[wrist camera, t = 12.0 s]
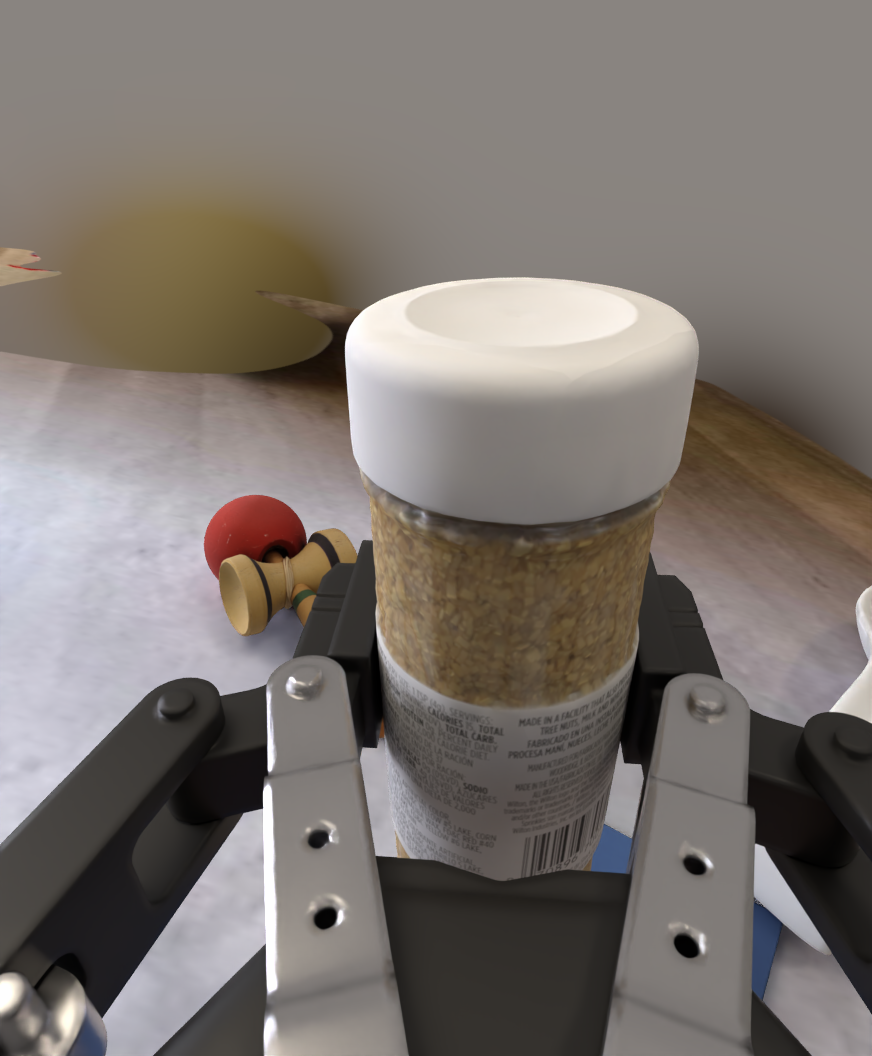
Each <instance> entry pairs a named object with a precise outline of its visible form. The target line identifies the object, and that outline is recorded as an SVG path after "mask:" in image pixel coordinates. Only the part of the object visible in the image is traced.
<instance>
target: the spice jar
mask: <svg viewBox="0 0 872 1056" xmlns="http://www.w3.org/2000/svg"><path fill="white" fill-rule="evenodd" d="M698 357H699V345H698V339H697V336H696V332H695V330H694V329H693V327H692V325H691V324H690V323H689V321H688V320H687V319H686V318H685V317H684V316H683V315H681V314H680V313H678V312H677V311H676V310H674V309H673V308H672V307H670V306H668V305H666V304H664V303H662V302H660V301H658V300H656V299H653V298H651V297H648V296H645V295H643V294H640V293H636V292H633V291H629V290H625V289H621V288H616V287H611V286H607V285H601V284H594V283H588V282H581V281H572V280H562V279H545V278H490V279H476V280H462V281H453V282H446V283H440V284H434V285H429V286H423V287H420V288H416V289H412V290H409V291H406V292H402V293H398V294H395V295H392V296H390V297H387V298H385V299H382V300H380V301H378V302H376V303H375V304H373V305H371V306H370V307H368V308H366V309H365V310H364V311H363V312H362V313H361V314H360V315H359V316H358V317H357V318H356V319H355V320H354V321H353V323H352V325H351V326H350V328H349V331H348V334H347V338H346V343H345V360H346V374H347V388H348V401H349V415H350V428H351V441H352V448H353V455H354V457H355V459H356V461H357V463H358V465H359V467H360V475H361V479H362V482H363V485H364V488H365V490H366V491H367V493H368V495H369V496H370V510H371V528H372V538H373V554H374V565H375V574H376V596H377V605H376V630H377V644H378V657H379V670H380V683H381V696H382V709H383V723H384V736H385V749H386V761H387V772H388V785H389V794H390V806H391V815H392V820H393V824H394V827H395V834H396V847H397V852H398V856H397V858H411V859H425V860H436V861H439V862H442V863H445V864H448V865H451V866H454V867H457V868H460V869H463V870H466V871H469V872H472V873H475V874H478V875H481V876H484V877H487V878H490V879H493V880H498V881H508V880H513V879H518V878H524V877H529V876H534V875H540V874H545V873H550V872H556V871H561V870H567V869H569V870H583V871H591V866H592V857H593V854H594V852H595V850H596V848H597V846H598V843H599V841H600V838H601V834H602V830H603V825H604V820H605V815H606V811H607V806H608V800H609V795H610V789H611V784H612V779H613V774H614V769H615V764H616V759H617V754H618V749H619V743H620V738H621V733H622V728H623V723H624V718H625V713H626V708H627V703H628V697H629V692H630V687H631V681H632V676H633V670H634V665H635V660H636V654H637V648H638V642H639V627H638V617H639V610H640V605H641V601H642V595H643V585H644V579H645V574H646V570H647V566H648V562H649V552H650V544H651V540H652V537H653V533H654V517H655V514H656V511H657V510H658V509H659V508H660V507H661V505H662V504H663V500H664V497H665V495H666V493H667V491H668V489H669V487H670V480H671V478H672V477H673V475H674V474H675V472H676V470H677V468H678V466H679V464H680V459H681V454H682V450H683V445H684V440H685V434H686V429H687V424H688V418H689V412H690V406H691V400H692V394H693V388H694V382H695V375H696V369H697V363H698Z"/></svg>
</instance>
